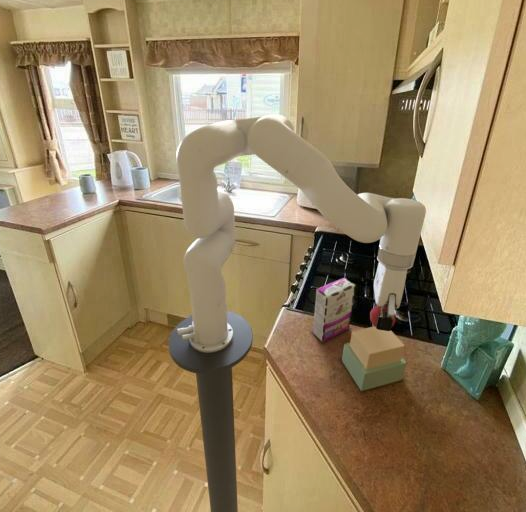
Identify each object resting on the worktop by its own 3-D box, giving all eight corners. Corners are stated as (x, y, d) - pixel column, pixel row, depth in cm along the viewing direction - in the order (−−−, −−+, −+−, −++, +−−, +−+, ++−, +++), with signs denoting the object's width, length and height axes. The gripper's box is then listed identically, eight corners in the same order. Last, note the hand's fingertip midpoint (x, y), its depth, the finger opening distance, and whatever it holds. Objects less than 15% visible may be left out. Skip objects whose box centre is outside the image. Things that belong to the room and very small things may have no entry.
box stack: (361, 391, 77) (368, 358, 72) (341, 360, 86) (346, 329, 81) (402, 379, 80) (411, 347, 76) (379, 351, 89) (386, 320, 84)
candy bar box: (338, 319, 101) (344, 276, 94) (349, 329, 97) (356, 284, 90) (311, 332, 95) (315, 288, 88) (322, 343, 91) (327, 297, 84)
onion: (363, 329, 77) (368, 303, 73) (373, 317, 81) (378, 292, 77) (386, 341, 73) (393, 314, 70) (395, 328, 77) (402, 302, 74)
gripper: (375, 236, 77) (364, 296, 84) (381, 273, 61) (367, 342, 69) (407, 240, 75) (393, 301, 83) (422, 278, 60) (403, 349, 68)
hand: (381, 319), depth 76 cm, fingers closed on onion, 5 cm apart
